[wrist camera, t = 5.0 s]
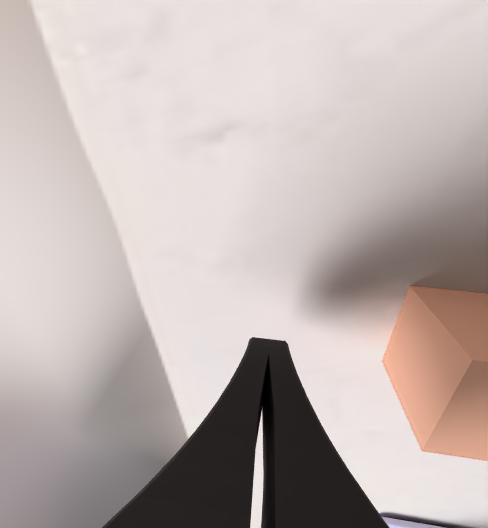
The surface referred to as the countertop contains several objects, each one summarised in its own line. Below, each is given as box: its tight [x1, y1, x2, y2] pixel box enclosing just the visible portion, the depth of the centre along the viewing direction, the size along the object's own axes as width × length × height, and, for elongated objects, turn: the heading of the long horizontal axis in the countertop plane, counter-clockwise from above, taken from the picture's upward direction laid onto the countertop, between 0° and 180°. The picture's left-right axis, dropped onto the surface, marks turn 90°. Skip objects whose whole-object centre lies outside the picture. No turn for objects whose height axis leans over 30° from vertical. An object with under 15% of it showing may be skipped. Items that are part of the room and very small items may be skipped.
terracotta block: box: [382, 286, 488, 461], centre depth 11 cm, size 4×4×4 cm
